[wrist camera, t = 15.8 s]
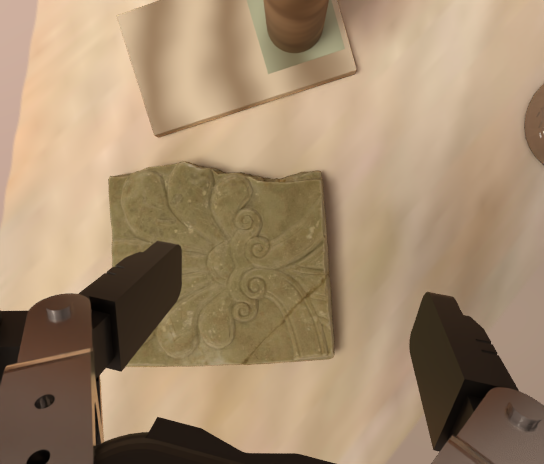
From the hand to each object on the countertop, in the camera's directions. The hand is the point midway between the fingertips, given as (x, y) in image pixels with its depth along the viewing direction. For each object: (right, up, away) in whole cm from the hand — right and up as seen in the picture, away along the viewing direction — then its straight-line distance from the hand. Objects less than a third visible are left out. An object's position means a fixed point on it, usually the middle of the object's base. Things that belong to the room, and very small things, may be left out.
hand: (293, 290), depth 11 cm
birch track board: (-4, +19, +20) cm, 28 cm away
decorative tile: (-5, -1, +23) cm, 23 cm away
